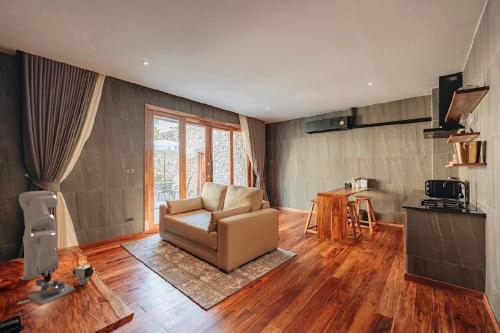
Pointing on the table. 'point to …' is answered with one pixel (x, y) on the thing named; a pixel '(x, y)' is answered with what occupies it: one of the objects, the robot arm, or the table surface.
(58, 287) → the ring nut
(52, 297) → the flange plate
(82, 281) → the pneumatic valve
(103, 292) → the table surface
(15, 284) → the table surface
